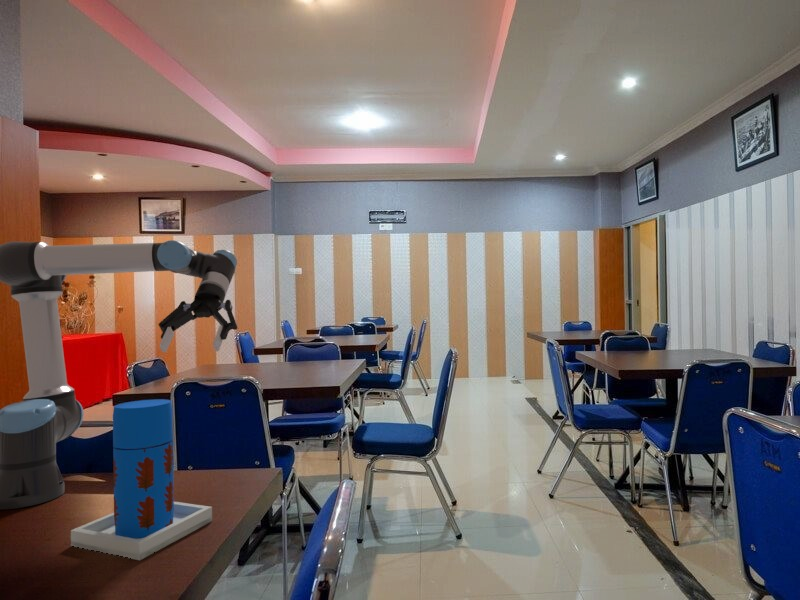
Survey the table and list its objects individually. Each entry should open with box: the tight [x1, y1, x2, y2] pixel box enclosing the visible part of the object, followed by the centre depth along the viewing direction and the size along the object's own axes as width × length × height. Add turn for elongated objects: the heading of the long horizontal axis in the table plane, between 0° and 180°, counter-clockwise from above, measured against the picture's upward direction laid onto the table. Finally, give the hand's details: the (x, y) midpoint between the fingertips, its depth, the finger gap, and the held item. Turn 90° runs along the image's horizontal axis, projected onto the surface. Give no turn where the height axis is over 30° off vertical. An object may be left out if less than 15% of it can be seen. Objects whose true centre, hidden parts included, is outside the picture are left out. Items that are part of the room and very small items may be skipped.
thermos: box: [112, 398, 175, 539], centre depth 102 cm, size 11×11×25 cm
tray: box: [70, 501, 213, 561], centre depth 102 cm, size 18×18×3 cm
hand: (189, 348), depth 126 cm, fingers open, 13 cm apart
